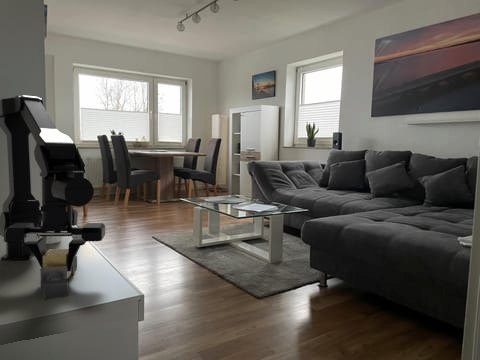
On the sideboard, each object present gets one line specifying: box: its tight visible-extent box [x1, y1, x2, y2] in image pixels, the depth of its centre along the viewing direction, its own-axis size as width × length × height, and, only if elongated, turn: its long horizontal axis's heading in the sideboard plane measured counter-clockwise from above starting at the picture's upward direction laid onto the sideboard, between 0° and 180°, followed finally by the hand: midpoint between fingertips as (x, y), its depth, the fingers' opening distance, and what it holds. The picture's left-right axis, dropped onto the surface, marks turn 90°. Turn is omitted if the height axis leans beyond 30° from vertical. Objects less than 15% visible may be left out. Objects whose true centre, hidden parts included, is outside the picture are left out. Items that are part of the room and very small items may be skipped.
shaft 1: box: [39, 266, 68, 300], centre depth 72 cm, size 5×5×4 cm
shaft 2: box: [70, 255, 78, 276], centre depth 84 cm, size 5×5×4 cm
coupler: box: [43, 248, 71, 280], centre depth 78 cm, size 4×4×6 cm
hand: (57, 271), depth 78 cm, fingers closed on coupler, 4 cm apart
